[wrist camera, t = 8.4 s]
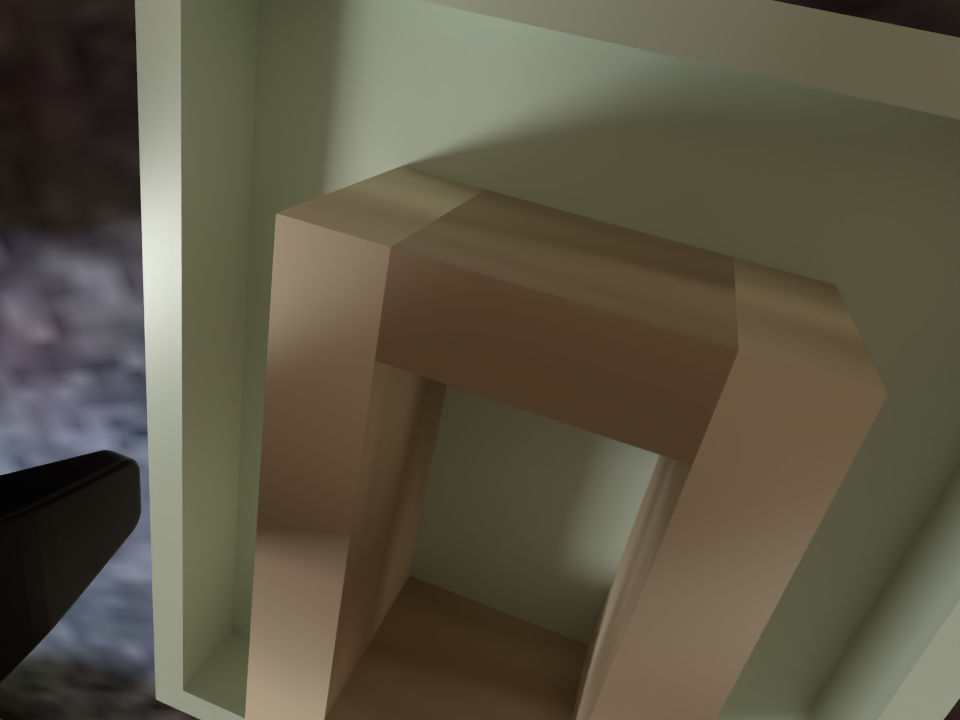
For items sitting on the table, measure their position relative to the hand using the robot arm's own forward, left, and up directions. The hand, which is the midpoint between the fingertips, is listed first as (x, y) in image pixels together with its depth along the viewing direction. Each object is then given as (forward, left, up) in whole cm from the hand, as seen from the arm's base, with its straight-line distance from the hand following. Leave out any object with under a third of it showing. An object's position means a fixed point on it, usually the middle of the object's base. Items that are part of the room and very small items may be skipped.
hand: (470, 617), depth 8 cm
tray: (0, 0, -4) cm, 4 cm away
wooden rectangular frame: (0, 0, -3) cm, 3 cm away
